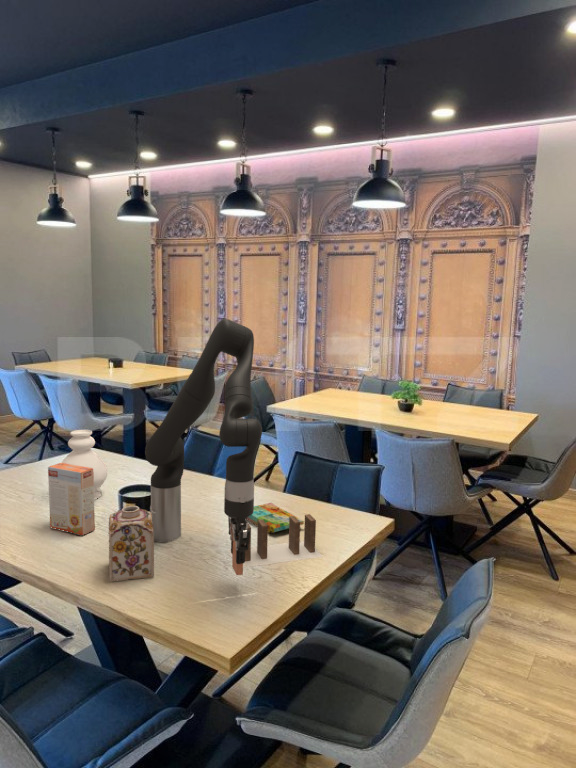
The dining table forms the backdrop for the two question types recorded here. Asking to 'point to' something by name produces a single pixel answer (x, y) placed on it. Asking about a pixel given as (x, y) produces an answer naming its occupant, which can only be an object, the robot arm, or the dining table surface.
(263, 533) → the domino
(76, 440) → the decorative vase
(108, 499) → the dining table surface
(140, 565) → the decorative jar
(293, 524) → the domino
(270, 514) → the puzzle game
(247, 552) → the domino
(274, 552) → the mat
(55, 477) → the cracker box
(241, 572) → the domino
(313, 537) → the domino
